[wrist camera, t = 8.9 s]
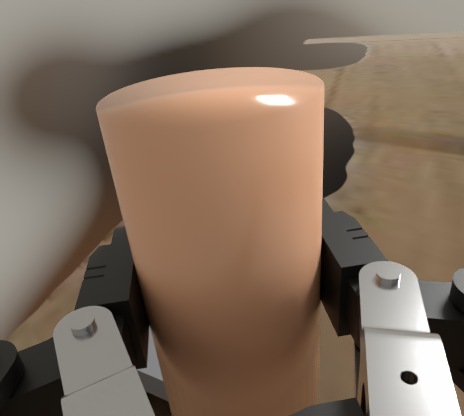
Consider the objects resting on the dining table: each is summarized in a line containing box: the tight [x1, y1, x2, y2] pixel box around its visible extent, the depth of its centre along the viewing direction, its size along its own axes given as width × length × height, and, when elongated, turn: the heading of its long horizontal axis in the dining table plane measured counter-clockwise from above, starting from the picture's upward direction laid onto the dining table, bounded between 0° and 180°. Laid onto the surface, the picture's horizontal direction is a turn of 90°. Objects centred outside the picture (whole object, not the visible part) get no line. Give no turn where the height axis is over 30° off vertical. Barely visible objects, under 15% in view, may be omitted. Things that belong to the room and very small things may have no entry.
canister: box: [96, 67, 324, 416], centre depth 12 cm, size 5×5×12 cm
